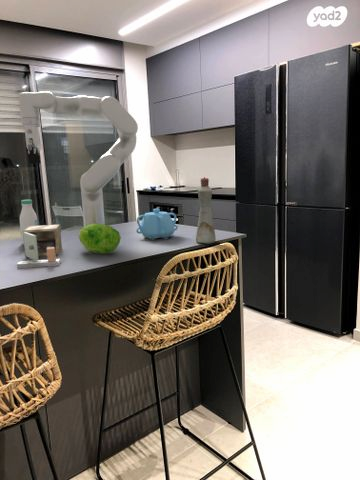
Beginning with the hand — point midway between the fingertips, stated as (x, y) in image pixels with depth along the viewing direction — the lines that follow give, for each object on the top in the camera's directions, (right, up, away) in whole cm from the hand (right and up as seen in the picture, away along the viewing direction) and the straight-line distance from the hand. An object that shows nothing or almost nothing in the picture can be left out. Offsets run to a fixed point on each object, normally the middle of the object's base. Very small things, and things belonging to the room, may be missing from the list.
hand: (35, 163), depth 171 cm
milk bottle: (-5, -35, +8) cm, 37 cm away
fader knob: (+18, -41, -31) cm, 54 cm away
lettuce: (+31, -39, -15) cm, 52 cm away
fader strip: (+13, -43, -32) cm, 55 cm away
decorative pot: (+53, -32, +13) cm, 64 cm away
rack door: (+7, -41, -23) cm, 47 cm away
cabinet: (+8, -39, -12) cm, 41 cm away
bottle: (+75, -35, -1) cm, 82 cm away
